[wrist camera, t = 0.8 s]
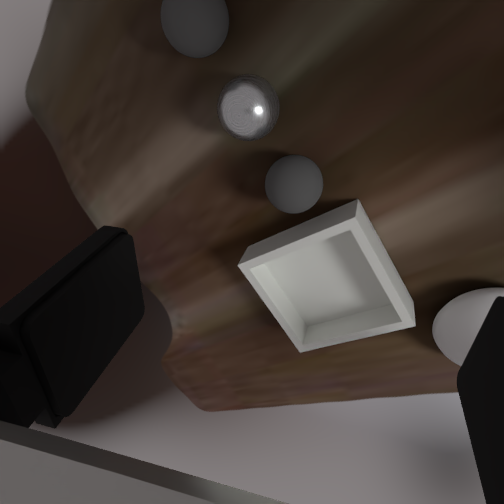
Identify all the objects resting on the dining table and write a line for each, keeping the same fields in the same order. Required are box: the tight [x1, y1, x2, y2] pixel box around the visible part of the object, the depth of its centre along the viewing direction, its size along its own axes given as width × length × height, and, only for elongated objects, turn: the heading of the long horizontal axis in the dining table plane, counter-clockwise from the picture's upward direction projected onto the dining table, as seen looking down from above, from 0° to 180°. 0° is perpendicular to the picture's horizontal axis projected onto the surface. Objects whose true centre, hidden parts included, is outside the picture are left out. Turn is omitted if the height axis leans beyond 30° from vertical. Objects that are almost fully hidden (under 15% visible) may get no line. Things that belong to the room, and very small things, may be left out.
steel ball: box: [217, 74, 280, 141], centre depth 33 cm, size 6×6×6 cm
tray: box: [238, 199, 416, 352], centre depth 41 cm, size 14×14×4 cm
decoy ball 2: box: [265, 155, 323, 213], centre depth 35 cm, size 6×6×6 cm
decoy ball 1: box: [161, 0, 229, 58], centre depth 30 cm, size 6×6×6 cm
